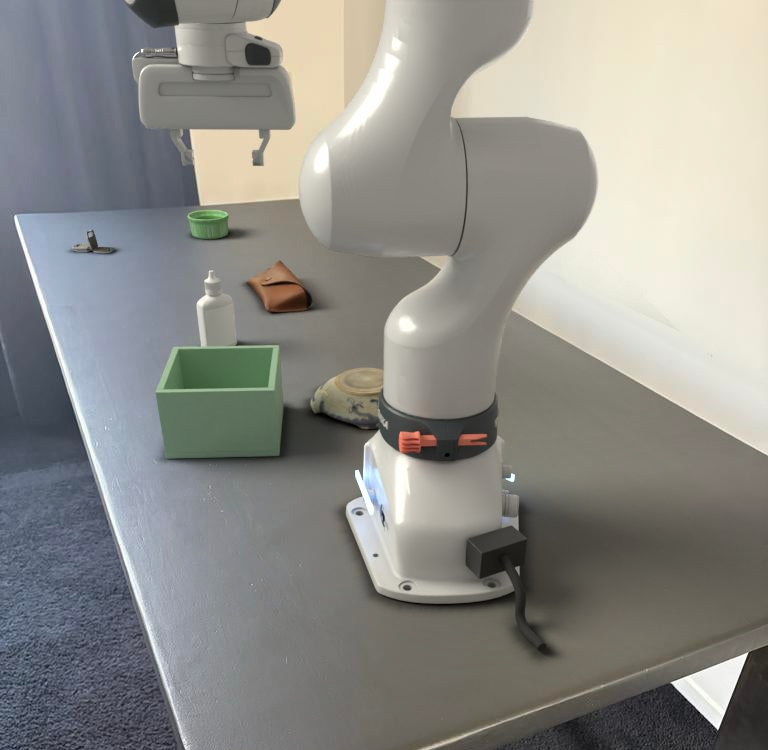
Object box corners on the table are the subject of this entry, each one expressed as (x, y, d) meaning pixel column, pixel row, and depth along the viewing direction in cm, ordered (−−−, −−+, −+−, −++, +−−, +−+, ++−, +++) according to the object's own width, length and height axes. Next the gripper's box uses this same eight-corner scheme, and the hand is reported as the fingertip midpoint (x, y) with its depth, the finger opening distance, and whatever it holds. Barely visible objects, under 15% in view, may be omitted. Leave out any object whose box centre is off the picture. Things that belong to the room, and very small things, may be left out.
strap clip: (71, 251, 167) (66, 231, 164) (77, 247, 169) (73, 227, 167) (109, 254, 166) (105, 233, 163) (115, 249, 168) (112, 229, 166)
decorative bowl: (301, 387, 113) (323, 435, 101) (300, 363, 111) (322, 408, 99) (402, 377, 117) (435, 422, 104) (403, 354, 115) (436, 396, 102)
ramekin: (187, 231, 181) (185, 211, 179) (227, 228, 183) (225, 208, 181) (192, 241, 174) (189, 220, 172) (233, 238, 176) (231, 218, 174)
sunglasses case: (242, 280, 150) (257, 248, 148) (274, 295, 154) (289, 264, 152) (266, 312, 137) (283, 277, 134) (301, 327, 140) (318, 293, 138)
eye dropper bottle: (238, 351, 124) (231, 274, 117) (202, 354, 122) (192, 276, 116) (236, 340, 127) (229, 265, 120) (201, 343, 126) (191, 267, 119)
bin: (279, 456, 97) (274, 390, 92) (166, 458, 96) (155, 392, 91) (283, 406, 108) (279, 345, 103) (182, 408, 107) (173, 346, 102)
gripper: (123, 49, 97) (142, 170, 105) (291, 51, 98) (297, 170, 106) (134, 44, 102) (150, 159, 110) (293, 46, 103) (298, 160, 111)
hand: (223, 165), depth 108 cm, fingers open, 8 cm apart
